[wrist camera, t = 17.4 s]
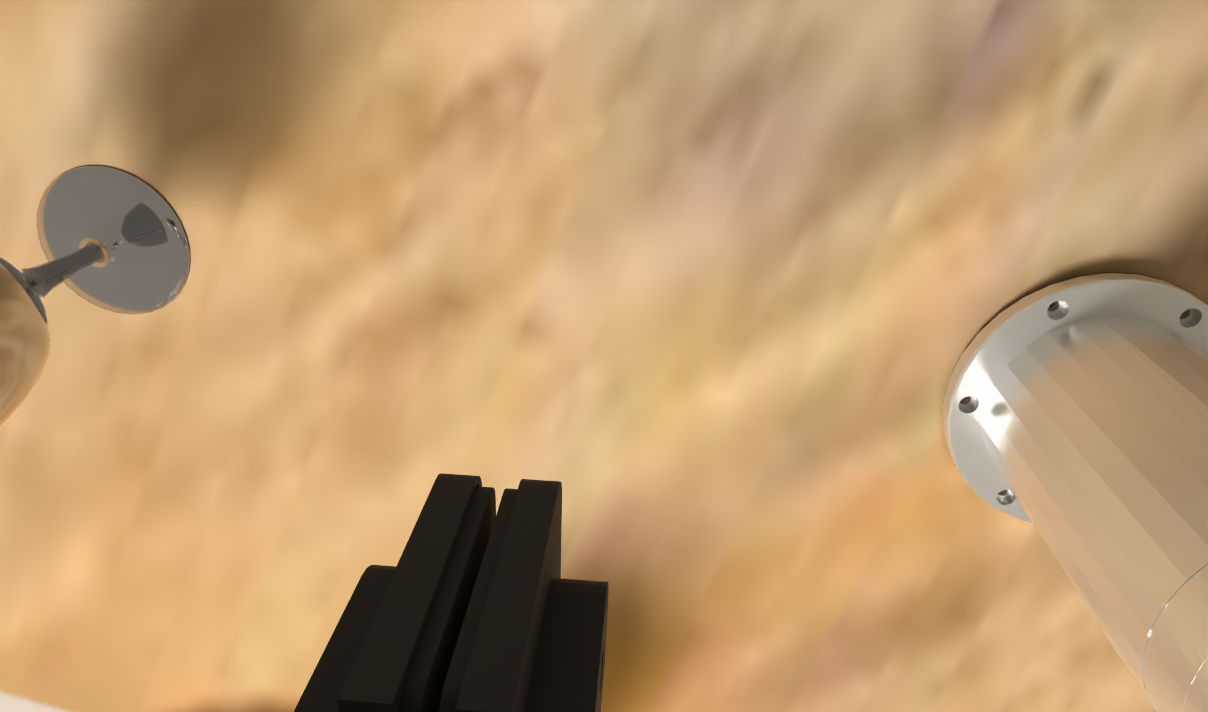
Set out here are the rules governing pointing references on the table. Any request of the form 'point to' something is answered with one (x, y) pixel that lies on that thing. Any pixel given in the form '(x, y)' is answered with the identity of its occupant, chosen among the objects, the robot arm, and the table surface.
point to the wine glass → (88, 265)
